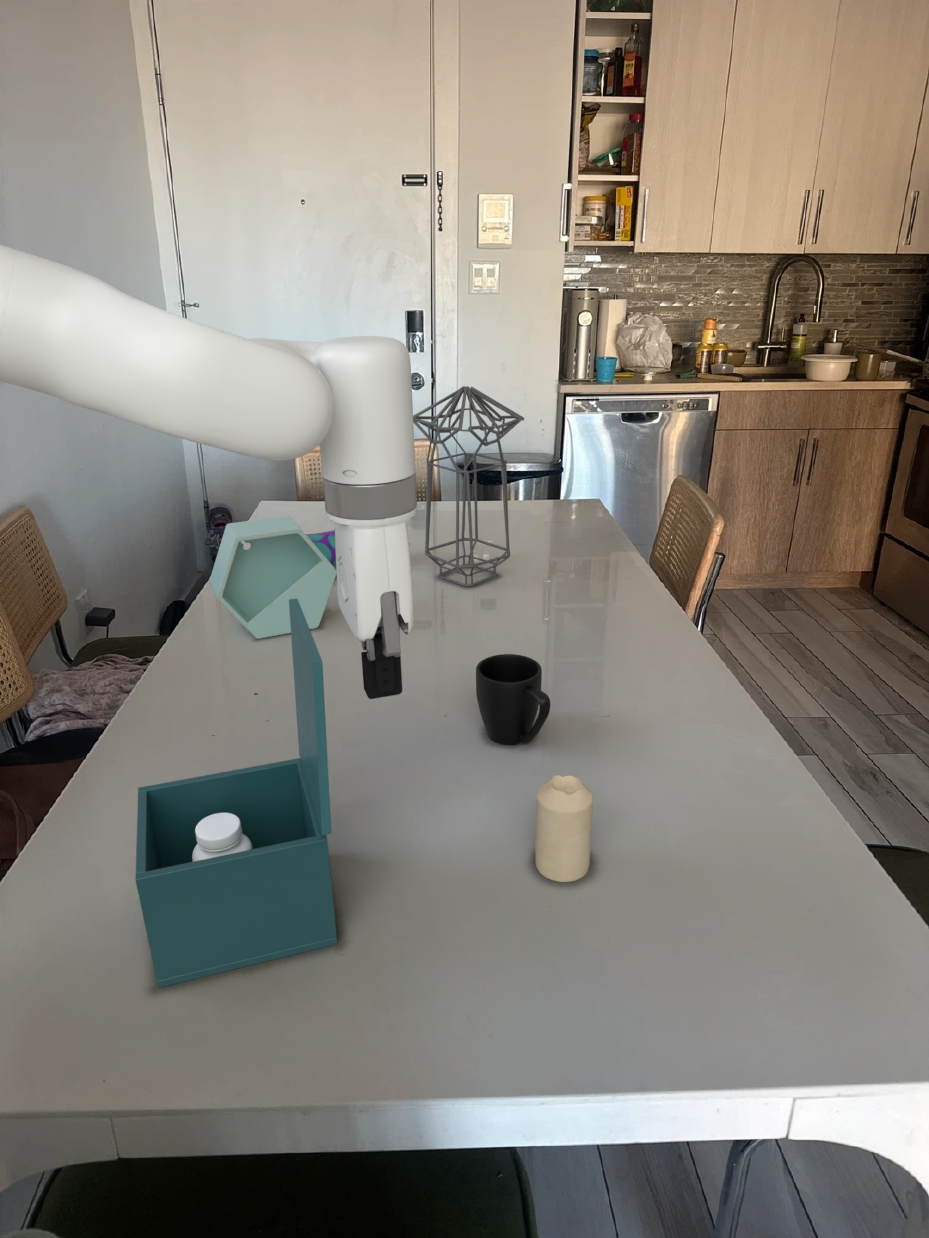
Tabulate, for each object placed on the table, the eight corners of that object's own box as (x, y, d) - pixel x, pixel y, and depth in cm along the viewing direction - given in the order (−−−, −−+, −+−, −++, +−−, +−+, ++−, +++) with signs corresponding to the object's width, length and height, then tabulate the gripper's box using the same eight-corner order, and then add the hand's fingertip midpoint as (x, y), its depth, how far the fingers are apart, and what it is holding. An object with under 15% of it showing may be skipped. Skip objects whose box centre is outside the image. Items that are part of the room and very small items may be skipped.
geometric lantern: (410, 576, 165) (402, 387, 151) (471, 556, 174) (469, 377, 160) (466, 598, 154) (463, 397, 140) (528, 576, 164) (531, 386, 150)
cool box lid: (312, 662, 68) (322, 660, 68) (288, 599, 80) (297, 598, 80) (322, 835, 74) (331, 833, 75) (299, 753, 86) (307, 752, 86)
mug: (514, 772, 104) (515, 703, 100) (464, 728, 114) (463, 663, 110) (570, 753, 108) (573, 685, 104) (517, 711, 117) (518, 648, 114)
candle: (557, 890, 85) (560, 805, 81) (524, 859, 90) (525, 777, 86) (600, 869, 88) (605, 787, 84) (566, 840, 92) (570, 760, 88)
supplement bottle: (243, 882, 86) (230, 800, 82) (271, 910, 82) (260, 825, 78) (192, 909, 83) (176, 824, 79) (219, 939, 79) (205, 852, 75)
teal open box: (158, 988, 75) (135, 879, 70) (157, 886, 87) (138, 787, 82) (337, 943, 79) (327, 839, 75) (313, 852, 91) (303, 756, 86)
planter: (278, 661, 143) (192, 573, 132) (268, 642, 149) (185, 558, 138) (357, 594, 144) (278, 502, 133) (344, 578, 151) (267, 490, 139)
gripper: (310, 478, 77) (327, 664, 84) (342, 527, 64) (359, 741, 71) (393, 470, 79) (402, 652, 86) (440, 516, 66) (447, 725, 73)
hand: (383, 692), depth 79 cm, fingers closed
